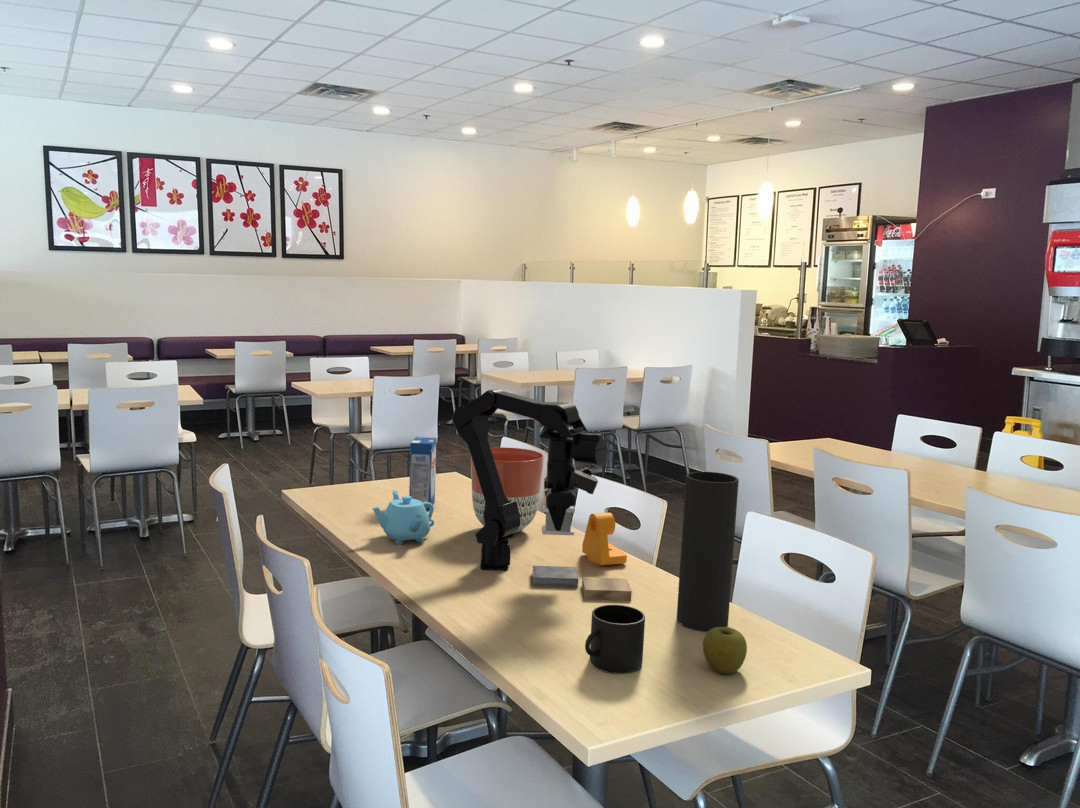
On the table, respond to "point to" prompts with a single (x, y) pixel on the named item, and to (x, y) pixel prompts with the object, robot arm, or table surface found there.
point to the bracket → (601, 541)
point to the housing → (566, 526)
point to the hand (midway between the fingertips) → (557, 527)
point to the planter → (513, 482)
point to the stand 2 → (606, 588)
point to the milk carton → (423, 470)
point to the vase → (707, 550)
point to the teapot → (405, 519)
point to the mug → (616, 638)
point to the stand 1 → (555, 576)
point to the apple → (724, 649)
